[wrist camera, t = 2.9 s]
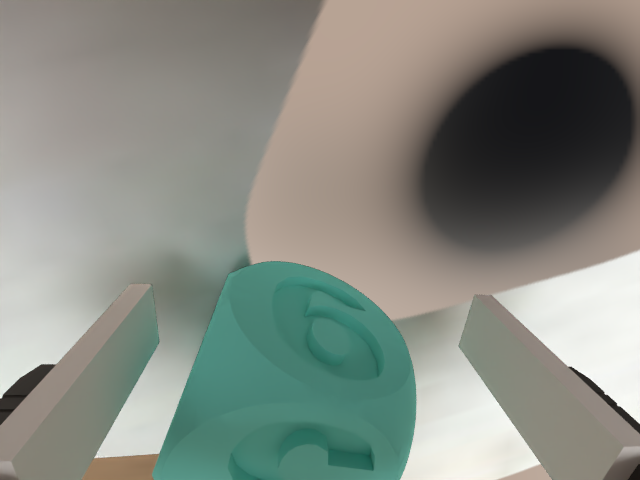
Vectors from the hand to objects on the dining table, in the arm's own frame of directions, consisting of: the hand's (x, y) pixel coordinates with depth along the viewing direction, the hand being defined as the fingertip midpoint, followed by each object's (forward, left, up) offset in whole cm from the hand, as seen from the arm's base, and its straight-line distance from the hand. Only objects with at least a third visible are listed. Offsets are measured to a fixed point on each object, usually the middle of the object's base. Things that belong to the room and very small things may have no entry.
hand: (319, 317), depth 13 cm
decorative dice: (+3, -1, -4) cm, 5 cm away
